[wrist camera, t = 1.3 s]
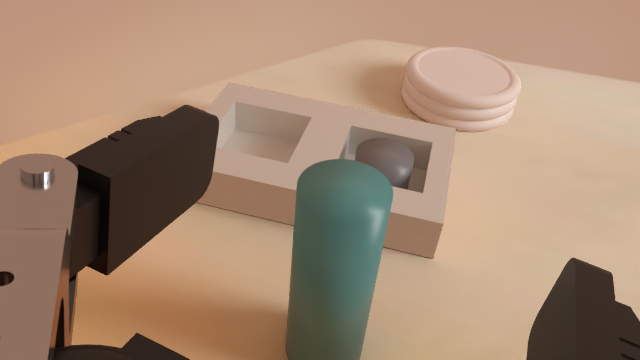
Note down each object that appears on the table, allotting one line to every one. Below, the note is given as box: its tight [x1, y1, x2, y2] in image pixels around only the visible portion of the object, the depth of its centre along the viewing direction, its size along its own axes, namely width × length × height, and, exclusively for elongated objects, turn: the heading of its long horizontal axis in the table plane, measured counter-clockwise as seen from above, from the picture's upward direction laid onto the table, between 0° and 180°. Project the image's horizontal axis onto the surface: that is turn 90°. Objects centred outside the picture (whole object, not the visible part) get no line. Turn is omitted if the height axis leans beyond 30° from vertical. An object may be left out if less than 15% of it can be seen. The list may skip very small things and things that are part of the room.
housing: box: [197, 83, 456, 259], centre depth 41 cm, size 18×11×3 cm, turn 75°
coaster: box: [402, 46, 521, 132], centre depth 51 cm, size 10×10×4 cm
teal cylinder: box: [286, 159, 393, 360], centre depth 27 cm, size 4×4×11 cm
